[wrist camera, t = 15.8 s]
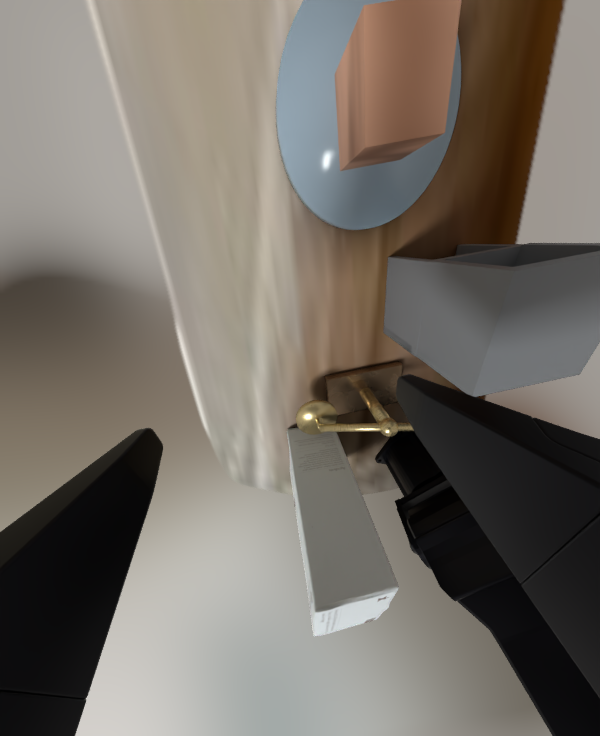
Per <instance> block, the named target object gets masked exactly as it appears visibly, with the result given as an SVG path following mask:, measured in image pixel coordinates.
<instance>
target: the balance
mask: <svg viewBox="0 0 600 736" xmlns="http://www.w3.org/2000/svg"><path fill="white" fill-rule="evenodd" d="M401 374H402V364H401V363H400V362H399V361H398V362H393V363H388V364H383V365H378V366H373V367H368V368H363V369H358V370H353V371H348V372H343V373H338V374H333V375H328V376H325V382H326V393H327V401H325V400H313V401H310V402H308V403H306V404H304V405H303V406H302V407H301V408H300V409H299V410H298V412H297V414H296V422H297V426H298V428H299V429H300V430H301V431H302V432H304V433H306V434H311V435H315V434H321V433H324V432H361V431H380V432H381V433H382V434H383V435H385V436H388V437H392V436H394V435H396V434H397V432H398V431H414V430H413V428H412V426H411V424H410V423H397V422H396V421H395V420H394V419H392V418H390V417H389V415H388V414H387V412H386V411H385V410H384V408H383V407H382V406H383V405H388V404H393V403H397V402H398V401H397V398H396V388H397V380H398V377H400V376H401ZM364 409H369V410H370V412H371V413H372V415H373V416H374V418H375V420H376V421H377V423H351V424H335V423H336V421H337V415H340V414H345V413H350V412H355V411H359V410H364Z"/></svg>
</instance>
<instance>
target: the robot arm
mask: <svg viewBox="0 0 600 736" xmlns="http://www.w3.org/2000/svg"><path fill="white" fill-rule="evenodd" d="M396 398H397V401H398V402H399V404H400V406H401V408H402V410H403V412H404V413H405V415H406V417H407V419H408V421H409V422H410V424H411V426H412V428H413V430H414V431H398V432H397V434H396V435H394V436H392V437H391V438H390V439H389V441H388V442H387V443H386V445H385V446H384V447H383V449H382V450H381V451H380V453H379V454H378V455H377V457H376V458H375V460H376V462H377V463H382V464H386V465H387V466H388V468H389V470H390V472H391V474H392V476H393V477H394V479H395V481H396V483H397V485H398V486H399V488H400V490H401V492H402V493H403V495H404V497H403V498H401V499H398V500H396V501H395V503H396V506H397V511H398V513H399V516H400V518H401V521H402V524H403V526H404V529H405V531H406V534H407V537H408V539H409V544H410V547H411V549H412V551H413V552H414V553H416V554H417V555H419V557H420V558H421V560H422V561H423V562H424V564H425V565H426V566H427V567H428V568H430V569H432V571H433V573H434V575H435V577H436V579H437V581H438V583H439V585H440V587H441V588H442V589H443V590H444V591H445V592H446V593H447V594H448V595H449V596H450V597H451V598H452V599H453V600H454V601H458V602H459V603H460V604H461V605H462V606H463V607H464V608H466V609H467V610H468V611H469V612H470V613H471V614H472V615H473V616H475V617H476V618H477V619H478V620H479V621H480V622H481V623H482V624H484V625H485V626H486V627H487V628H488V629H489V630H490V631H491V633H492V634H493V636H494V638H495V639H496V641H497V643H498V644H499V646H500V648H501V649H502V651H503V653H504V654H505V656H506V658H507V659H508V661H509V663H510V665H511V666H512V668H513V670H514V671H515V673H516V675H517V676H518V678H519V680H520V681H521V683H522V685H523V686H524V688H525V690H526V692H527V693H528V695H529V697H530V698H531V700H532V702H533V703H534V705H535V707H536V709H537V710H538V712H539V714H540V715H541V717H542V718H543V720H544V722H545V724H546V725H547V727H548V728H549V730H550V732H551V734H552V736H600V439H597V438H594V437H590V436H587V435H584V434H581V433H578V432H575V431H572V430H569V429H566V428H563V427H560V426H557V425H554V424H551V423H549V422H546V421H543V420H540V419H537V418H532V417H531V416H528V415H525V414H522V413H520V412H516V411H514V410H511V409H508V408H505V407H503V406H500V405H497V404H494V403H491V402H488V401H485V400H483V399H480V398H477V397H474V396H471V395H468V394H465V393H462V392H460V391H457V390H454V389H451V388H448V387H445V386H442V385H439V384H437V383H434V382H431V381H428V380H425V379H422V378H419V377H416V376H414V375H410V374H408V375H403V376H400V377H398V380H397V388H396ZM162 451H163V445H162V443H161V441H160V439H159V438H158V436H157V435H156V434H155V432H154V431H153V430H152V429H151V428H145V429H140V430H137V431H135V432H134V433H132V434H131V435H130V436H128V437H127V438H126V439H124V440H123V441H122V442H120V443H119V444H118V445H117V446H115V447H114V448H112V449H111V450H110V451H108V452H107V453H106V454H104V455H103V456H101V457H100V458H99V459H97V460H96V461H95V462H93V463H92V464H91V465H89V466H88V467H87V468H85V469H84V470H83V471H81V472H80V473H79V474H78V475H76V476H75V477H73V478H72V479H71V480H70V481H68V482H67V483H65V484H64V485H63V486H61V487H60V488H59V489H57V490H56V491H55V492H53V493H52V494H51V495H49V496H48V497H47V498H45V499H44V500H43V501H41V502H40V503H39V504H37V505H36V506H35V507H33V508H32V509H30V511H28V512H26V513H25V514H24V515H22V516H21V517H20V518H18V519H17V520H16V521H14V522H13V523H12V524H10V525H9V526H8V527H6V528H5V529H4V530H3V531H1V532H0V736H75V734H76V731H77V728H78V725H79V721H80V718H81V715H82V712H83V709H84V706H85V703H86V698H87V696H88V692H89V690H90V687H91V684H92V680H93V678H94V674H95V671H96V668H97V665H98V662H99V659H100V656H101V653H102V650H103V647H104V644H105V641H106V637H107V635H108V631H109V628H110V625H111V622H112V619H113V616H114V613H115V610H116V607H117V604H118V601H119V597H120V595H121V592H122V588H123V585H124V582H125V579H126V576H127V573H128V570H129V567H130V564H131V561H132V558H133V555H134V552H135V549H136V545H137V542H138V539H139V536H140V533H141V530H142V527H143V524H144V520H145V518H146V515H147V511H148V509H149V505H150V502H151V499H152V496H153V492H154V488H155V484H156V480H157V475H158V470H159V466H160V460H161V456H162Z"/></svg>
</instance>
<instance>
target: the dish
mask: <svg viewBox="0 0 600 736" xmlns="http://www.w3.org/2000/svg"><path fill="white" fill-rule="evenodd" d="M387 1H394V0H304V1H303V2H302V4H301V6H300V8H299V10H298V12H297V14H296V16H295V18H294V21H293V23H292V26H291V28H290V31H289V34H288V36H287V39H286V43H285V47H284V51H283V54H282V58H281V64H280V70H279V76H278V86H277V98H276V129H277V138H278V144H279V149H280V154H281V158H282V162H283V165H284V168H285V171H286V174H287V176H288V178H289V181H290V183H291V185H292V187H293V189H294V190H295V192H296V194H297V196H298V197H299V198H300V200H301V201H302V203H303V204H304V205H305V206H306V207H307V208H308V209H309V210H310V212H311V213H313V214H314V215H315V216H316V217H318V218H319V219H320V220H322V221H324V222H325V223H327V224H329V225H331V226H334V227H336V228H341V229H345V230H361V229H369V228H373V227H377V226H380V225H383V224H385V223H387V222H389V221H391V220H393V219H395V218H396V217H398V216H399V215H401V214H402V213H403V212H404V211H406V210H407V209H408V208H409V207H410V206H411V205H412V204H413V203H414V202H415V201H416V200H417V199H418V198H419V197H420V196H421V194H422V193H423V192H424V191H425V189H426V188H427V186H428V185H429V183H430V182H431V181H432V179H433V177H434V175H435V174H436V172H437V170H438V168H439V167H440V164H441V162H442V160H443V158H444V156H445V153H446V151H447V148H448V145H449V142H450V140H451V137H452V133H453V129H454V126H455V122H456V117H457V112H458V106H459V99H460V89H461V57H460V46H459V40H458V34H457V40H456V48H455V56H454V64H453V72H452V80H451V88H450V96H449V104H448V112H447V121H446V129H445V133H444V134H442V135H441V136H439V137H437V138H436V139H434V140H432V141H431V142H429V143H427V144H426V145H424V146H422V147H421V148H419V149H417V150H416V151H414V152H413V153H411V154H409V155H408V156H406V157H404V158H403V159H401V160H397V161H392V162H386V163H381V164H376V165H370V166H365V167H360V168H354V169H349V170H344V171H340V162H339V144H338V127H337V109H336V91H335V72H336V70H337V68H338V65H339V63H340V60H341V58H342V56H343V53H344V51H345V49H346V46H347V44H348V41H349V39H350V37H351V34H352V32H353V30H354V27H355V25H356V23H357V20H358V18H359V15H360V13H361V11H362V8H363V6H364V5H369V4H375V3H381V2H387Z"/></svg>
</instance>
